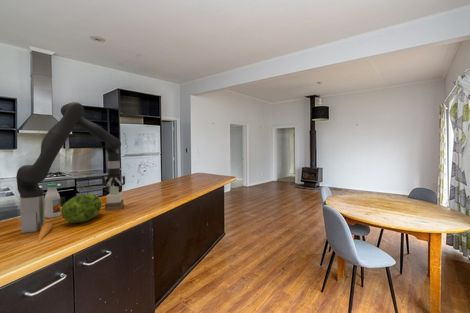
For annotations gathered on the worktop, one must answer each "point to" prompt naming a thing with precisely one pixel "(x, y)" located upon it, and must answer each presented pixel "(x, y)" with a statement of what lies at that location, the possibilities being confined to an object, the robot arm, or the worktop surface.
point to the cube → (114, 190)
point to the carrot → (44, 230)
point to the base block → (114, 206)
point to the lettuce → (81, 208)
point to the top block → (114, 198)
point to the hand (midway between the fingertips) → (114, 191)
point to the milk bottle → (52, 202)
